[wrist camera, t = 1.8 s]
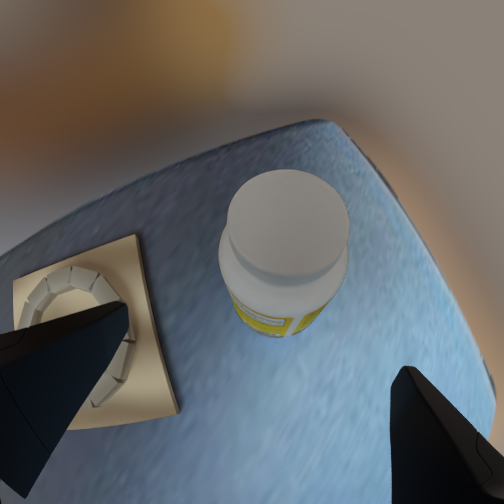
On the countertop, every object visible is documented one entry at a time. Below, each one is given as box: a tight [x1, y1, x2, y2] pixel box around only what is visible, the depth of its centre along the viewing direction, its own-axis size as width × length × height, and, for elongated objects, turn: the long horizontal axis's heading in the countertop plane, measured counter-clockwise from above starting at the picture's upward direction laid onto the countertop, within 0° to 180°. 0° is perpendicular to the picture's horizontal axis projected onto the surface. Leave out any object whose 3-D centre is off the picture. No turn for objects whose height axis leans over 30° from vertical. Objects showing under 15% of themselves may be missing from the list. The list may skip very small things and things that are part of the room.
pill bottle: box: [219, 169, 350, 338], centre depth 16 cm, size 6×6×11 cm
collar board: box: [13, 234, 180, 430], centre depth 19 cm, size 14×14×2 cm
